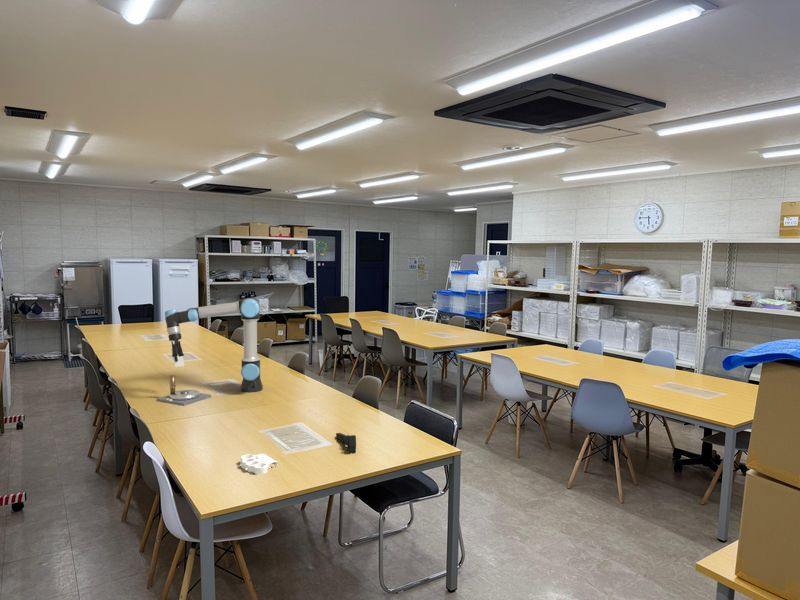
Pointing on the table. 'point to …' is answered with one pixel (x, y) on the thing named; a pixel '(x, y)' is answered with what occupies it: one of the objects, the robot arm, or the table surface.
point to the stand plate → (184, 402)
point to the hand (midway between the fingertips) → (180, 366)
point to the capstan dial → (181, 392)
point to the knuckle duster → (256, 463)
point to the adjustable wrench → (348, 441)
